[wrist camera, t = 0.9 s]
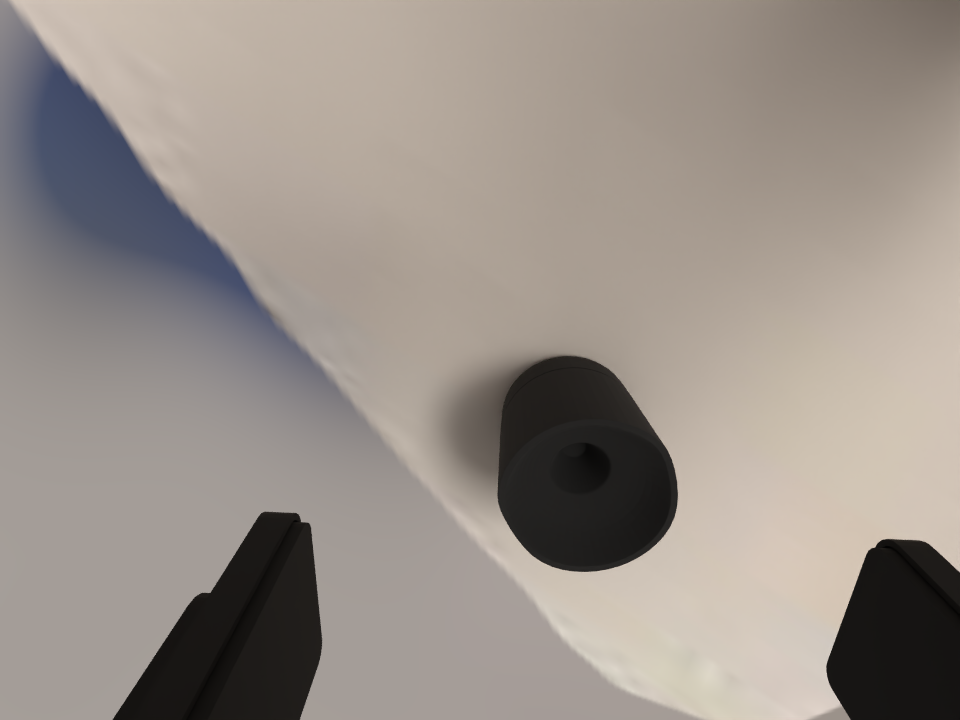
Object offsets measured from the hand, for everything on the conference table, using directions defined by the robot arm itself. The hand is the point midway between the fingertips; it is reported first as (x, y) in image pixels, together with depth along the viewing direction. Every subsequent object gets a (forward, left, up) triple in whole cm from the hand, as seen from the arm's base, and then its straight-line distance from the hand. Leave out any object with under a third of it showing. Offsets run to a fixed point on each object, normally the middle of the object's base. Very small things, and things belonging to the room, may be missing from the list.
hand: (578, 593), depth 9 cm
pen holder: (+6, +9, -27) cm, 29 cm away
